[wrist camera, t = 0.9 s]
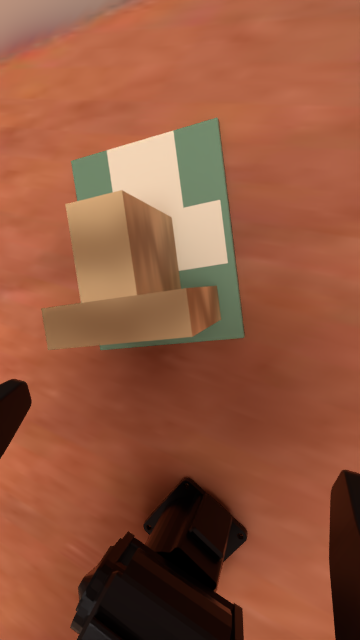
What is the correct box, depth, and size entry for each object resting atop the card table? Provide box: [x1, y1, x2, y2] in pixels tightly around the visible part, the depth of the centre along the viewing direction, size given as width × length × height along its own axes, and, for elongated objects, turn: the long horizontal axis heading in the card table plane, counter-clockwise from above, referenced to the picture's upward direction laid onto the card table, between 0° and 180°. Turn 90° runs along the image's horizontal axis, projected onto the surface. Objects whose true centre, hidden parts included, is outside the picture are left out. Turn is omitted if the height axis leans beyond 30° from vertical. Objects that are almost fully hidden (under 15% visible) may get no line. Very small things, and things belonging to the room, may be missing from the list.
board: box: [71, 118, 245, 350], centre depth 26 cm, size 16×12×1 cm
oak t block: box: [41, 190, 221, 350], centre depth 22 cm, size 8×9×8 cm
